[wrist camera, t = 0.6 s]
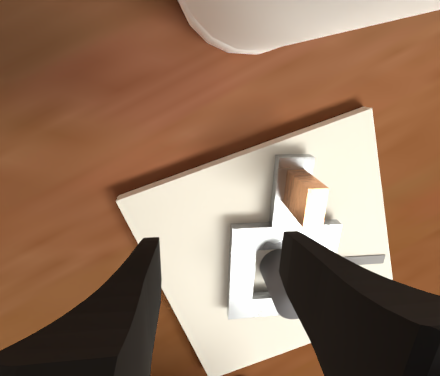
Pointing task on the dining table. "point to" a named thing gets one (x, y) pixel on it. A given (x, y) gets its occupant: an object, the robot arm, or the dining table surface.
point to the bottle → (289, 20)
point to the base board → (253, 213)
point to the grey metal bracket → (278, 231)
